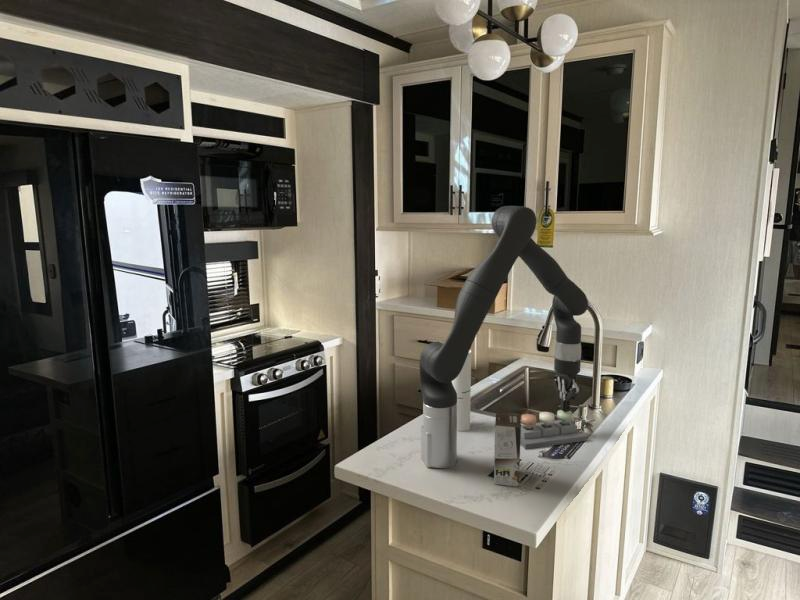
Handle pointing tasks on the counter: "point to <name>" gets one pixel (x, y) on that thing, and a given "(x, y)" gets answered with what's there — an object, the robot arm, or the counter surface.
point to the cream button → (546, 418)
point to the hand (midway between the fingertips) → (565, 410)
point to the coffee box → (507, 449)
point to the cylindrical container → (463, 395)
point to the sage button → (564, 416)
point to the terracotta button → (528, 420)
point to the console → (550, 434)
